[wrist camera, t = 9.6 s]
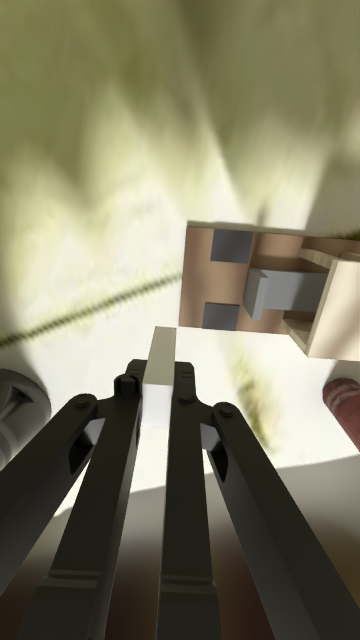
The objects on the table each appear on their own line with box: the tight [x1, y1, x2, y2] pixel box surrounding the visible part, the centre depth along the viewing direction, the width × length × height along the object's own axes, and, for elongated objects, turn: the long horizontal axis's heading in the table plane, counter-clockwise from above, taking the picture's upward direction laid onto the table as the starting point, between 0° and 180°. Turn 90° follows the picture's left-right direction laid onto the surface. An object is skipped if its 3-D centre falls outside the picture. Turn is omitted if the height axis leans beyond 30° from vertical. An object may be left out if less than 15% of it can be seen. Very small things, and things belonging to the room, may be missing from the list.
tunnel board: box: [179, 227, 360, 361], centre depth 32 cm, size 30×14×10 cm, turn 86°
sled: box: [243, 268, 328, 320], centre depth 32 cm, size 21×5×6 cm, turn 86°
